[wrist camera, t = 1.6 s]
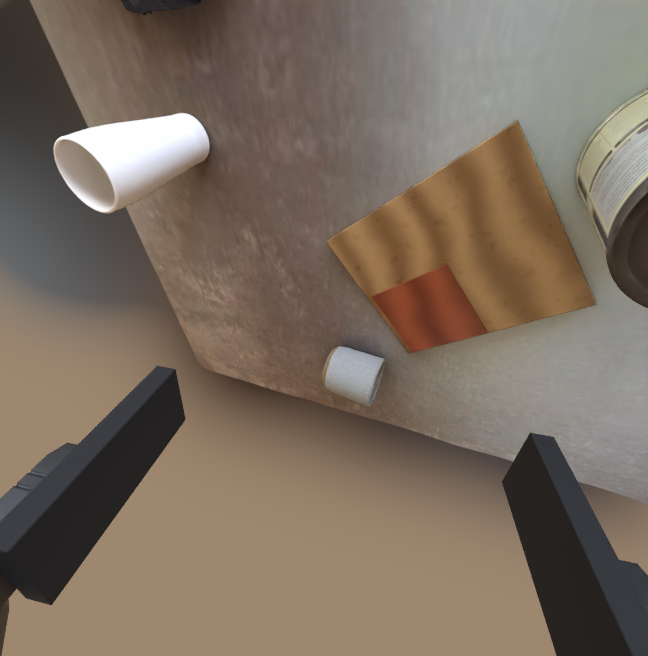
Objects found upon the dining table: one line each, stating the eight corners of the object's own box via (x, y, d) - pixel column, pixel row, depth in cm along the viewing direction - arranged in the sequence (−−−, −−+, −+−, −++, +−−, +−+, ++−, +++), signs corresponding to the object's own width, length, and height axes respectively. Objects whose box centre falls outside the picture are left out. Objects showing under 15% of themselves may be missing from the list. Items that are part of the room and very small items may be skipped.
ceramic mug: (337, 334, 52) (317, 370, 47) (388, 348, 50) (373, 387, 45) (336, 376, 60) (319, 411, 54) (380, 390, 57) (367, 428, 52)
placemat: (517, 120, 27) (517, 122, 27) (595, 301, 34) (596, 306, 34) (328, 239, 42) (326, 242, 41) (409, 350, 49) (408, 354, 48)
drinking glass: (217, 116, 37) (107, 153, 27) (217, 176, 42) (124, 225, 32) (165, 94, 38) (39, 122, 28) (171, 155, 43) (66, 198, 33)
